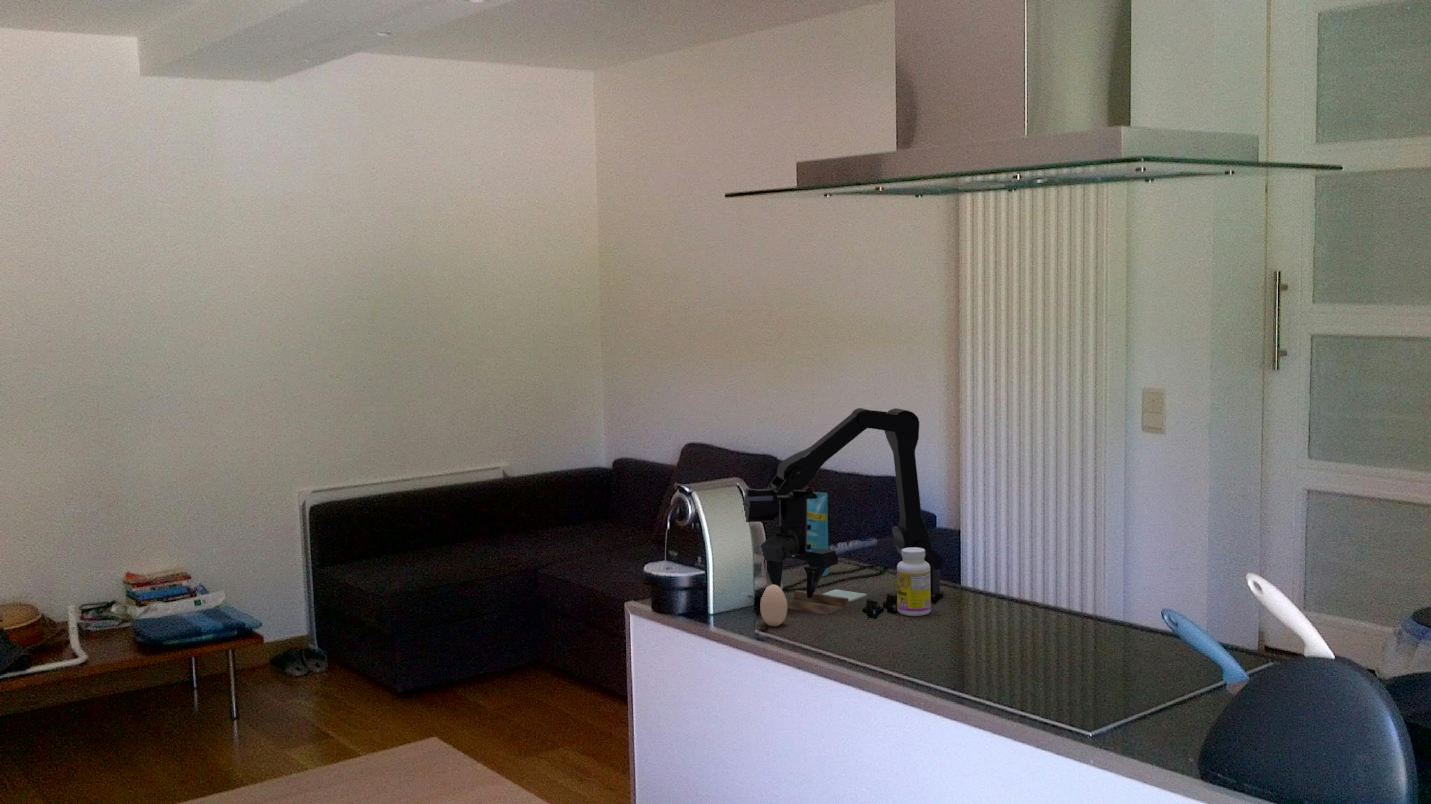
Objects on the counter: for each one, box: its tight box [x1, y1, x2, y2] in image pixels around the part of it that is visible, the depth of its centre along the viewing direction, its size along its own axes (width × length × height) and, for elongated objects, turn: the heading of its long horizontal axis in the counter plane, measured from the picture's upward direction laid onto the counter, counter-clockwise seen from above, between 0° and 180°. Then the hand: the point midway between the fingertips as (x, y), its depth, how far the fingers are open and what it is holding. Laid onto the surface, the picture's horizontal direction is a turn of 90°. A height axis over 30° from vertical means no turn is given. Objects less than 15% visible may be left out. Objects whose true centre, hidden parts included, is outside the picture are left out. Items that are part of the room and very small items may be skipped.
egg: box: [759, 585, 788, 627], centre depth 245 cm, size 5×5×8 cm
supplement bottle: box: [896, 547, 932, 617], centre depth 252 cm, size 7×7×13 cm
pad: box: [822, 588, 868, 603], centre depth 266 cm, size 8×8×1 cm
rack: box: [786, 589, 850, 616], centre depth 259 cm, size 13×8×2 cm, turn 50°
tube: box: [806, 491, 830, 577], centre depth 289 cm, size 7×5×19 cm, turn 43°
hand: (793, 595), depth 261 cm, fingers open, 8 cm apart
